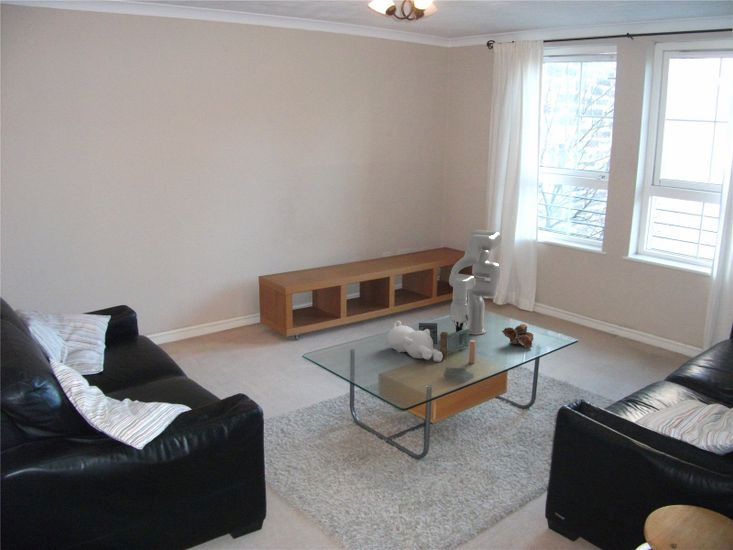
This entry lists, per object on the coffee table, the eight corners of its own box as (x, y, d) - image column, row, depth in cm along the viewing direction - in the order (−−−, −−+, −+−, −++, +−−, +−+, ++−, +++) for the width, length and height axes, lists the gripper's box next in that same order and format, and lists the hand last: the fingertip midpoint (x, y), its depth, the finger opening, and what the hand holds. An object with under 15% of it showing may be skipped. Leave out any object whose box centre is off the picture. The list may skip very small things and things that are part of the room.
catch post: (470, 361, 346) (471, 339, 343) (474, 362, 345) (475, 340, 342) (469, 363, 344) (469, 341, 341) (473, 363, 343) (474, 342, 340)
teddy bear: (417, 368, 336) (374, 342, 361) (439, 372, 348) (396, 347, 373) (431, 333, 334) (387, 310, 360) (453, 339, 346) (409, 316, 372)
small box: (437, 340, 377) (437, 322, 374) (437, 344, 371) (437, 326, 368) (418, 339, 378) (418, 322, 375) (418, 343, 372) (418, 326, 369)
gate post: (441, 356, 353) (442, 331, 349) (446, 357, 352) (447, 332, 348) (439, 358, 350) (440, 333, 347) (445, 359, 349) (445, 334, 345)
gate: (445, 355, 352) (445, 335, 349) (442, 354, 353) (443, 334, 351) (468, 347, 363) (468, 328, 360) (465, 346, 364) (466, 327, 362)
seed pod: (495, 328, 373) (511, 329, 358) (520, 317, 379) (537, 317, 364) (503, 352, 374) (520, 354, 359) (527, 341, 380) (545, 342, 365)
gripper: (444, 298, 359) (444, 330, 364) (465, 305, 348) (464, 338, 353) (454, 296, 364) (453, 327, 369) (475, 302, 353) (473, 335, 358)
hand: (458, 332), depth 361 cm, fingers closed
